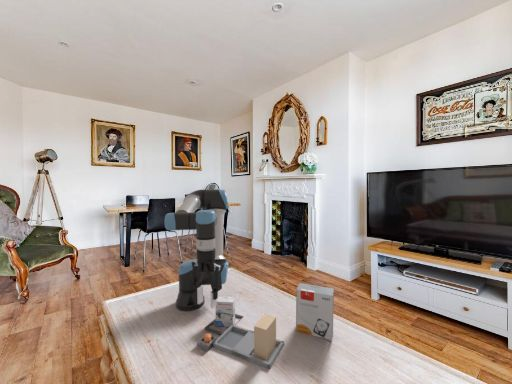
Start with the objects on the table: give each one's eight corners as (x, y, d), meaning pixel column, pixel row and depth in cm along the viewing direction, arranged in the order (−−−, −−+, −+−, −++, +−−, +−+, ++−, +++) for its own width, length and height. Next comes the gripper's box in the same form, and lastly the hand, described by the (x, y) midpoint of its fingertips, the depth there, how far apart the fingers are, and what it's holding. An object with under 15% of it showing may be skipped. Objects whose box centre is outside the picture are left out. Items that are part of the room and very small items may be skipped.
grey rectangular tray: (212, 349, 96) (212, 343, 96) (232, 329, 108) (232, 324, 108) (269, 371, 84) (269, 365, 84) (284, 347, 96) (284, 341, 96)
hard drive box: (295, 333, 105) (295, 289, 104) (298, 324, 112) (298, 282, 111) (332, 342, 99) (332, 295, 98) (333, 331, 106) (334, 287, 105)
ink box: (215, 326, 111) (214, 301, 110) (217, 320, 116) (217, 296, 115) (233, 327, 110) (233, 302, 109) (235, 321, 115) (235, 297, 114)
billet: (254, 357, 90) (254, 326, 89) (264, 343, 98) (264, 314, 97) (266, 361, 87) (266, 329, 87) (276, 346, 95) (276, 317, 95)
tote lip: (204, 329, 109) (204, 327, 109) (224, 312, 123) (224, 310, 123) (226, 337, 103) (226, 335, 103) (245, 318, 117) (245, 316, 117)
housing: (197, 347, 97) (196, 341, 97) (206, 338, 102) (206, 332, 102) (208, 351, 94) (208, 345, 94) (217, 342, 99) (217, 336, 99)
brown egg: (202, 345, 98) (202, 336, 97) (207, 340, 100) (206, 332, 100) (208, 347, 96) (208, 339, 96) (212, 343, 99) (212, 334, 99)
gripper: (181, 248, 98) (182, 303, 99) (219, 254, 89) (220, 315, 90) (194, 243, 104) (195, 295, 105) (231, 249, 95) (231, 305, 96)
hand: (206, 304), depth 98 cm, fingers open, 6 cm apart
